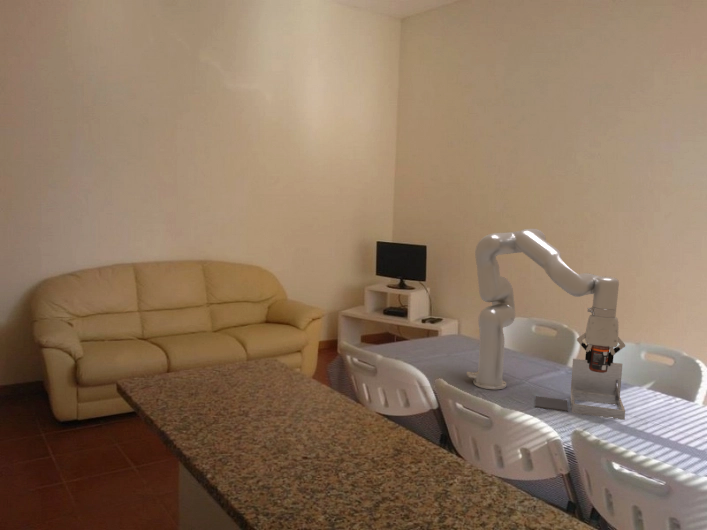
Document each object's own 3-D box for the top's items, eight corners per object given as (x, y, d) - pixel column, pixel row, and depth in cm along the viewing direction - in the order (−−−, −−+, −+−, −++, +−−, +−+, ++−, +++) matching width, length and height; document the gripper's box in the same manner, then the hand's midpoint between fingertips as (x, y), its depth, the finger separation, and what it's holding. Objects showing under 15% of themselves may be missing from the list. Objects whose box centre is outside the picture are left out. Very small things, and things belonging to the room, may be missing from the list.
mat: (534, 407, 200) (535, 405, 200) (535, 397, 210) (535, 396, 210) (568, 411, 196) (568, 410, 196) (567, 401, 207) (567, 400, 207)
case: (571, 412, 196) (574, 370, 194) (570, 396, 212) (572, 357, 210) (624, 419, 190) (628, 376, 189) (618, 402, 207) (621, 362, 205)
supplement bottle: (609, 374, 193) (612, 341, 191) (590, 372, 194) (593, 340, 193) (605, 369, 199) (608, 337, 197) (587, 367, 200) (590, 336, 198)
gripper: (577, 312, 193) (572, 363, 195) (633, 317, 187) (627, 370, 190) (576, 308, 200) (571, 357, 202) (630, 313, 195) (624, 364, 197)
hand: (598, 363), depth 196 cm, fingers closed on supplement bottle, 6 cm apart
